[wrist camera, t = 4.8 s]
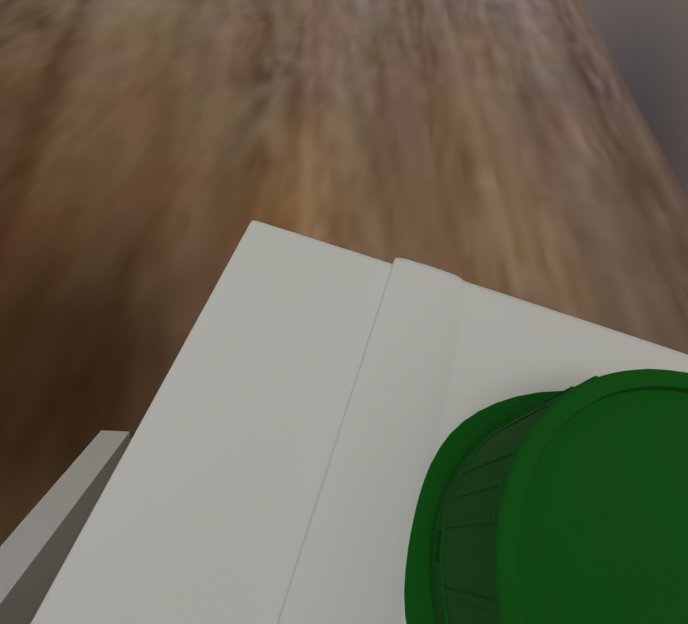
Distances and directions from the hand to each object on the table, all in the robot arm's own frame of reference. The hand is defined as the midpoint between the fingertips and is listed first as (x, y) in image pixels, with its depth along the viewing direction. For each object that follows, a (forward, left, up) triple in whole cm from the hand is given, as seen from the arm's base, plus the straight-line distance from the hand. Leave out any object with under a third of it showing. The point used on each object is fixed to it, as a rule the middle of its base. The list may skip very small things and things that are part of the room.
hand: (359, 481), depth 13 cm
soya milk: (0, -1, -10) cm, 11 cm away
